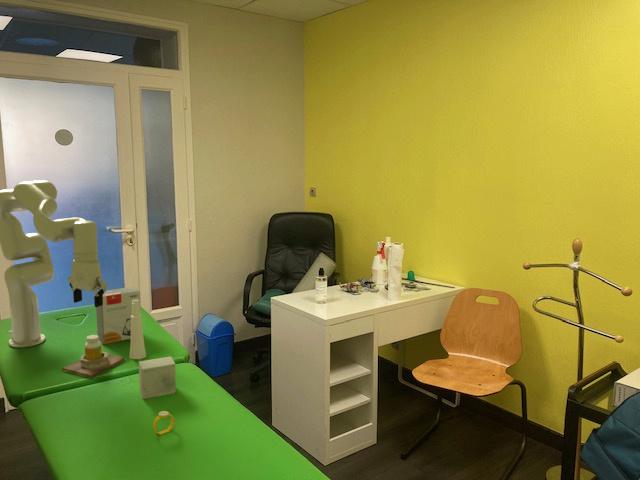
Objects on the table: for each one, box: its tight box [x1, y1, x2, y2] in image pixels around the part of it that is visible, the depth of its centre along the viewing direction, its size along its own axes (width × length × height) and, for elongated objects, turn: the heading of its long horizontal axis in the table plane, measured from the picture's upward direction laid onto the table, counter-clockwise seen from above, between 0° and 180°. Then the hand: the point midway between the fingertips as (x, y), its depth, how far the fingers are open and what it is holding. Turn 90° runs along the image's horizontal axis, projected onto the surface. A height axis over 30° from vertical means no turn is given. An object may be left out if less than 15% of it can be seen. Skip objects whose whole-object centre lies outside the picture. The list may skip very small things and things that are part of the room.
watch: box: [152, 410, 176, 436], centre depth 147 cm, size 6×3×6 cm, turn 133°
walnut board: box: [62, 351, 126, 379], centre depth 188 cm, size 13×16×4 cm
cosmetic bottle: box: [129, 299, 147, 360], centre depth 195 cm, size 6×6×22 cm
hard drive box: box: [95, 286, 142, 345], centre depth 212 cm, size 16×8×20 cm, turn 129°
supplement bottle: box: [84, 334, 102, 360], centre depth 187 cm, size 5×5×10 cm
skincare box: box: [138, 356, 177, 400], centre depth 169 cm, size 10×6×10 cm, turn 117°
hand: (88, 303), depth 185 cm, fingers open, 9 cm apart
